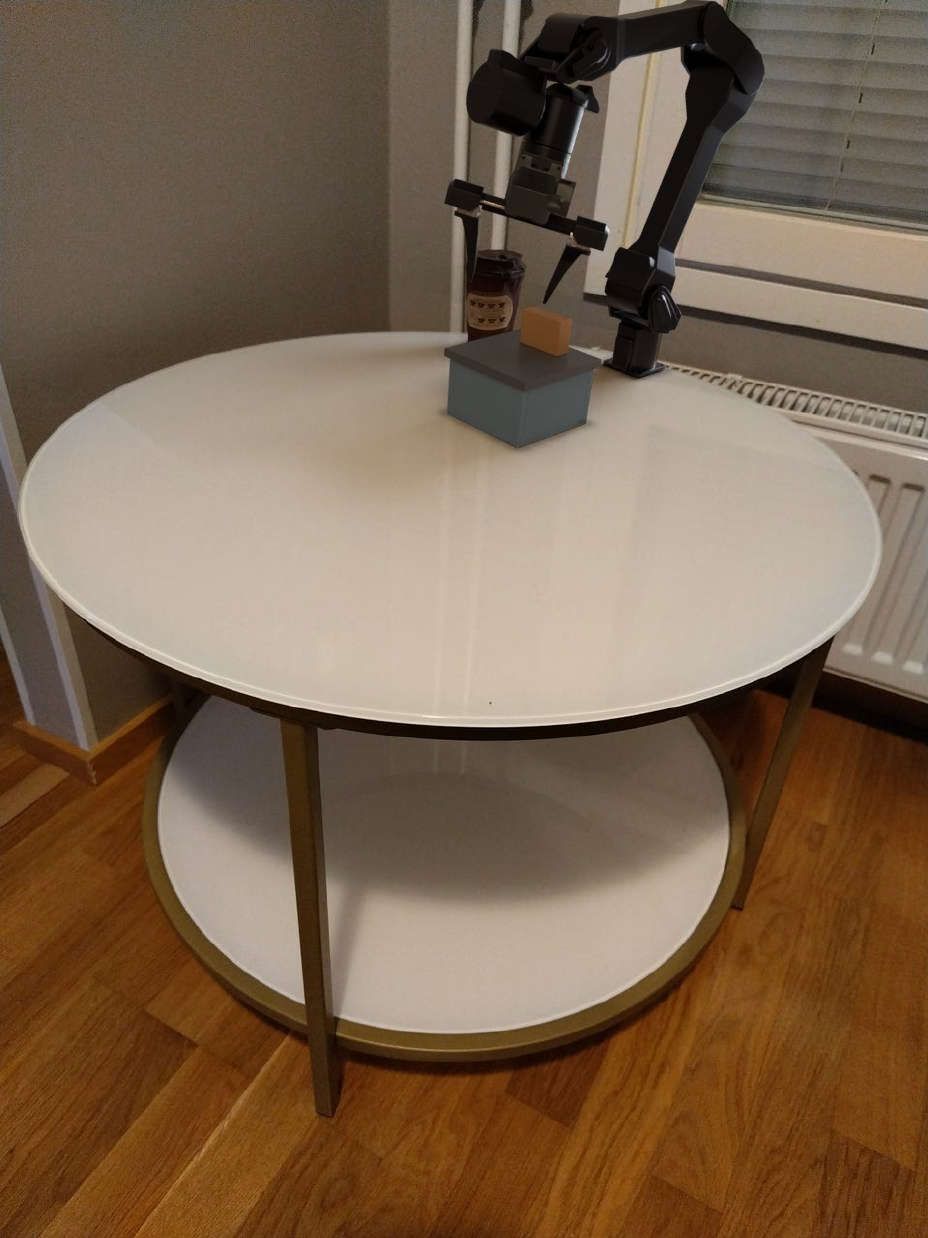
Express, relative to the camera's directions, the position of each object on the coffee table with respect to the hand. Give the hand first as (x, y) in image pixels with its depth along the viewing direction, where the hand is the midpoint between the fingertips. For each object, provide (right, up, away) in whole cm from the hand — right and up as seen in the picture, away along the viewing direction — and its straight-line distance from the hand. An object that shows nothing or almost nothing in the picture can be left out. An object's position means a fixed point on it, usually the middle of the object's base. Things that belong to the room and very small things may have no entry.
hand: (507, 292), depth 102 cm
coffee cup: (-1, 0, +22) cm, 22 cm away
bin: (+1, -14, +2) cm, 15 cm away
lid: (+2, -9, -2) cm, 9 cm away
